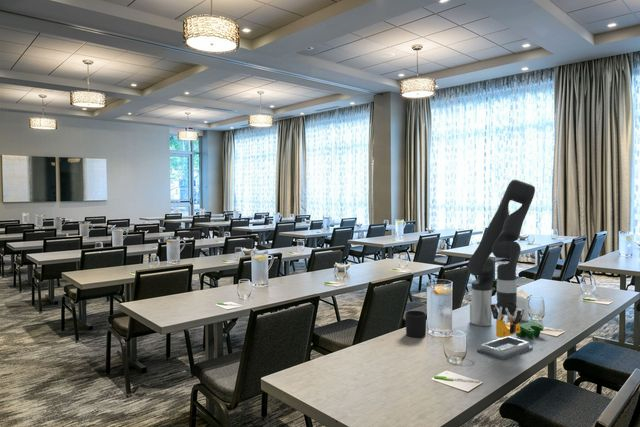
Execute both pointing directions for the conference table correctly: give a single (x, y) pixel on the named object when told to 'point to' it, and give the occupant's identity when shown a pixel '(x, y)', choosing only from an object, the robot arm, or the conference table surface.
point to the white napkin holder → (523, 306)
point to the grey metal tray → (505, 348)
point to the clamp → (530, 330)
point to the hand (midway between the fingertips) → (506, 331)
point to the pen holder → (415, 324)
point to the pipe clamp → (505, 329)
